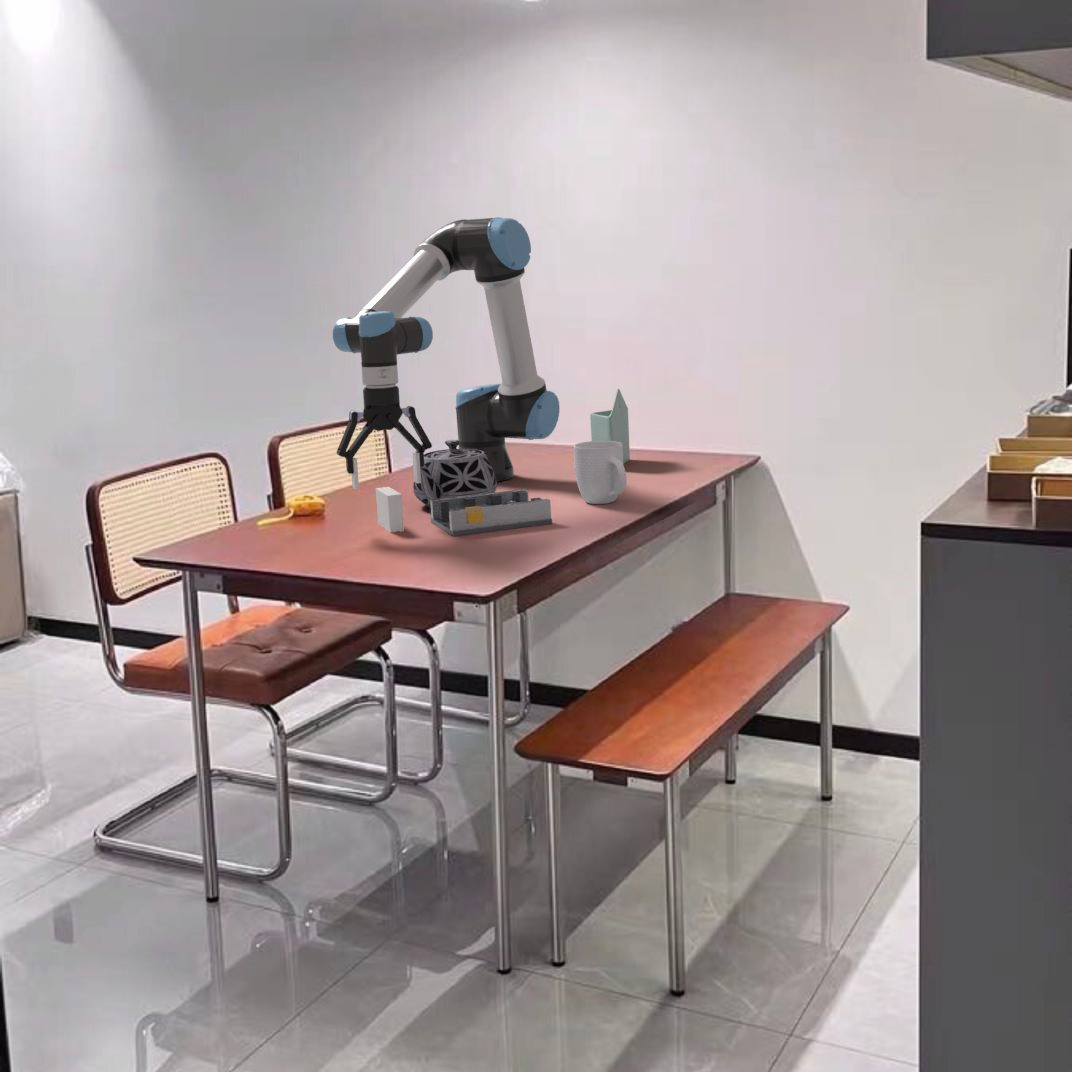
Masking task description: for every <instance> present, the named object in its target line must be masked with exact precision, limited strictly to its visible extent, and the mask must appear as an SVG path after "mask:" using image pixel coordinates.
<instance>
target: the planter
mask: <svg viewBox="0 0 1072 1072" xmlns="http://www.w3.org/2000/svg"><path fill="white" fill-rule="evenodd" d="M614 397H615V398H614V401H613V405H612V409H610V410H603V411H596V412H591V413H590V415H589V416H590V419H589V420H590V434H591V435H590V436H591V437H590V438H591V440H590V441H616V442H620V443H622V447H623V465H624V464H626V463H628V461H630V459H631V458H630V457H631V453H630V427H629V408H628V405H627V403H626V400H625V398H624V397H623V394H622V392H621V390H620V388H617V390H616V393H615V396H614Z"/></svg>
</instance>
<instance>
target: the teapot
mask: <svg viewBox="0 0 1072 1072" xmlns="http://www.w3.org/2000/svg"><path fill="white" fill-rule="evenodd" d="M459 443H460V441H459V440H458V439H447V440H446V441H444V444H445V445H446V446H447V447H448V448H447V449H439V450H434V451H433V450H432V451H429V452H426V453H424V467H420V474H421V483H416V482H414V481H413V490H412V491H413V493H414V496H415V497H416V499H417V500H419V502H420V503H422V504H424V506H426V507H427V508H430V509H431V504H430V500H436V499H444V498H453V497H461V496H470V495H478V494H487V493H495V492H496V491H497V487H498V483H497V480H496V476H495V473H494V471H493V469H492V466H491V464H490V463H489V461H488V459H487V454H486V453H485V452H483V451H481V450H476V449H459V448H457V447H459Z"/></svg>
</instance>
